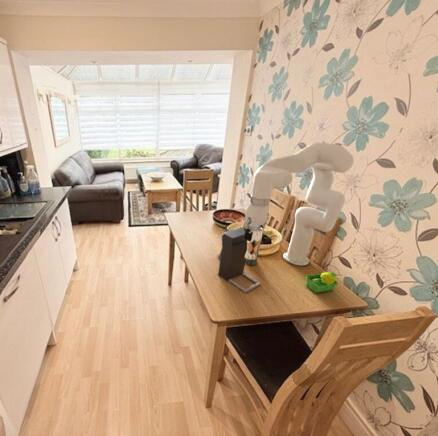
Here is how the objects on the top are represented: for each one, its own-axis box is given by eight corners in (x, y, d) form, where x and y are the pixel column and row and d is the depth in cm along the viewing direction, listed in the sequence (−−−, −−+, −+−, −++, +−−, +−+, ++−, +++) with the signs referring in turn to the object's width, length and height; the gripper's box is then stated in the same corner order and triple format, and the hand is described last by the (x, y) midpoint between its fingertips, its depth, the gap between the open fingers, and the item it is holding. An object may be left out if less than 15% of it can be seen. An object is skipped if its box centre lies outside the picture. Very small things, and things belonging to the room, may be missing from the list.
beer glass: (259, 261, 108) (265, 232, 102) (243, 259, 109) (248, 230, 103) (256, 253, 114) (261, 225, 108) (240, 251, 115) (245, 224, 109)
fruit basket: (321, 281, 118) (328, 262, 113) (338, 293, 110) (346, 273, 105) (302, 284, 116) (308, 265, 111) (317, 297, 108) (325, 277, 103)
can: (258, 263, 132) (263, 240, 126) (249, 265, 130) (254, 242, 124) (250, 258, 137) (255, 235, 131) (241, 260, 135) (246, 236, 129)
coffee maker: (233, 267, 129) (240, 227, 120) (261, 284, 116) (271, 241, 107) (217, 274, 123) (223, 233, 114) (244, 293, 110) (253, 248, 101)
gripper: (264, 194, 107) (258, 229, 114) (238, 202, 99) (233, 239, 106) (280, 199, 101) (272, 235, 109) (254, 207, 93) (247, 246, 101)
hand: (253, 237), depth 107 cm, fingers closed on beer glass, 7 cm apart
